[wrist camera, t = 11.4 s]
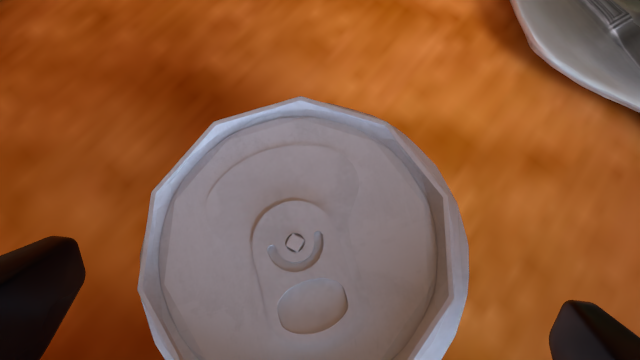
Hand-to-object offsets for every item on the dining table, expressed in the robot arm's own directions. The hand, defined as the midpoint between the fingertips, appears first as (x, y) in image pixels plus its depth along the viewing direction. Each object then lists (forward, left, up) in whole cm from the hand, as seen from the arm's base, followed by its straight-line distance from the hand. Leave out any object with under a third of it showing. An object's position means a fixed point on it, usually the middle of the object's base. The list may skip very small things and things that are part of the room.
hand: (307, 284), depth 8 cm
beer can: (0, 0, -9) cm, 9 cm away
